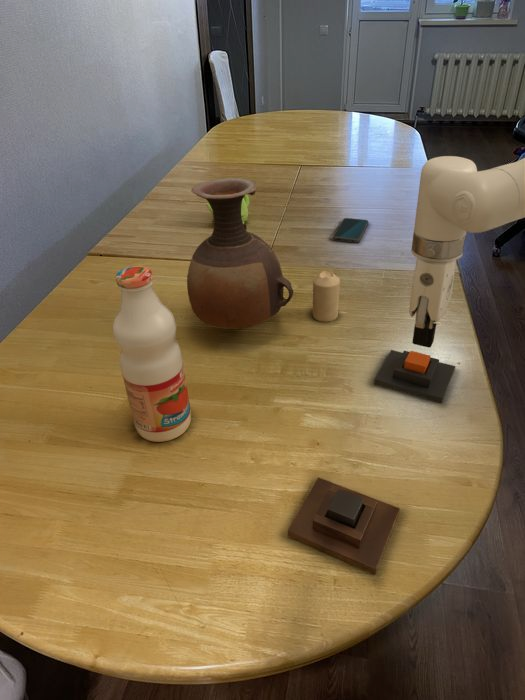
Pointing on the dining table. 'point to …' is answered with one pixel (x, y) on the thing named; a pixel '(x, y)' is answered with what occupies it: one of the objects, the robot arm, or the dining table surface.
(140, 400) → the fruit juice
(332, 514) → the rocker switch
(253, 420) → the dining table surface
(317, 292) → the candle
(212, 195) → the vase
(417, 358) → the enter key
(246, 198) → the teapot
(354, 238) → the smartphone
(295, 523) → the brown flat stepped block
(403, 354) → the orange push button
